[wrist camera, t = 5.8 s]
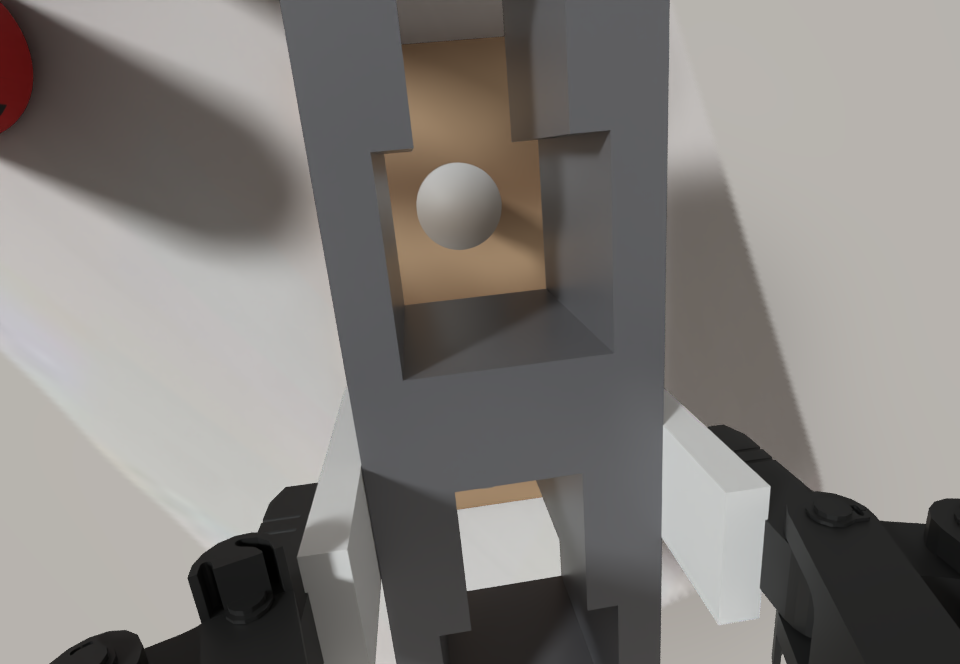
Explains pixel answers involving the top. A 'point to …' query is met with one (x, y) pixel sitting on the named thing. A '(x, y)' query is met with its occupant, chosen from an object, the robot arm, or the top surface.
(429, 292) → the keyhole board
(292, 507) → the robot arm
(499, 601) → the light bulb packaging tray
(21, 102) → the beverage can
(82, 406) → the top surface
